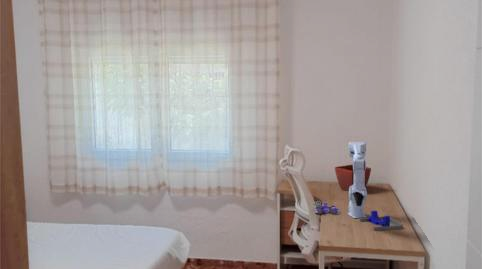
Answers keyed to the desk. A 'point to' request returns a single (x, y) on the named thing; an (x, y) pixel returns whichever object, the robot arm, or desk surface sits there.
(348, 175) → the plant pot
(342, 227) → the desk surface
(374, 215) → the cable clip
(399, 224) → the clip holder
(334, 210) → the toy race car
